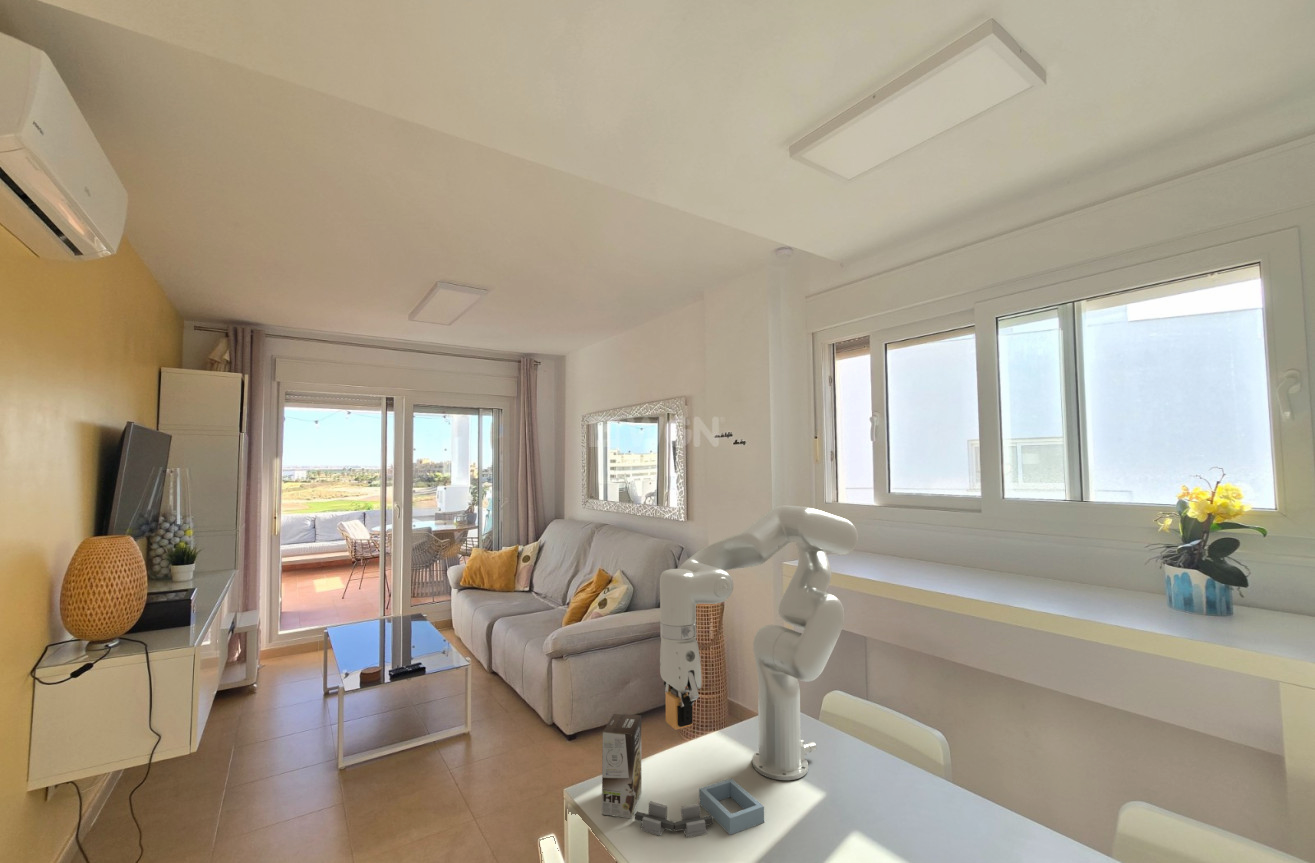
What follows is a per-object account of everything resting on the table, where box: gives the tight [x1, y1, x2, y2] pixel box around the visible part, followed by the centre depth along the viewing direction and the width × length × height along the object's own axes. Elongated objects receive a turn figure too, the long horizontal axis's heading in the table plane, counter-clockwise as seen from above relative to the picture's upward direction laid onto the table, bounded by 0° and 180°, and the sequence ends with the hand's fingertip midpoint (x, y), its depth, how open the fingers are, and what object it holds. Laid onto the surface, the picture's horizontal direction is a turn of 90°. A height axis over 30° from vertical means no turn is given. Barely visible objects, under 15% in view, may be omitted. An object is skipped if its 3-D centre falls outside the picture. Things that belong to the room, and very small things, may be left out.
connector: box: [665, 688, 693, 731], centre depth 115 cm, size 4×4×7 cm
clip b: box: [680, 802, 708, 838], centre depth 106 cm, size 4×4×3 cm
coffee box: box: [601, 713, 642, 819], centre depth 115 cm, size 9×6×16 cm
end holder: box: [698, 778, 765, 836], centre depth 111 cm, size 8×11×3 cm
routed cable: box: [634, 811, 714, 832], centre depth 107 cm, size 15×4×1 cm, turn 85°
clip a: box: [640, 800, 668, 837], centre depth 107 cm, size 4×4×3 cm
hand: (679, 719), depth 115 cm, fingers closed on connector, 4 cm apart
